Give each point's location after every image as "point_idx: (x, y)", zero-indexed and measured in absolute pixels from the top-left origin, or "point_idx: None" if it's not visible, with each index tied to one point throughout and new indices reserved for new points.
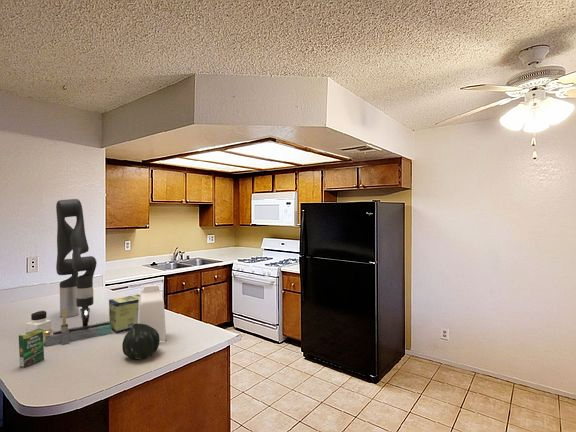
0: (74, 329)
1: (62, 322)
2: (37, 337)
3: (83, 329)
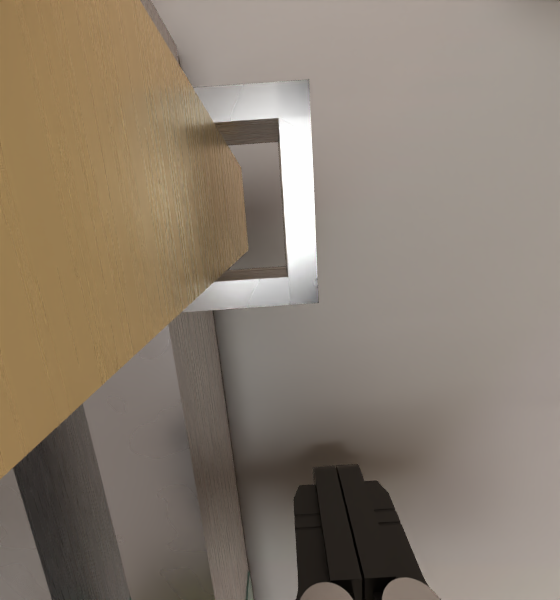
0: (94, 413)
1: (199, 106)
2: None
3: (35, 548)
